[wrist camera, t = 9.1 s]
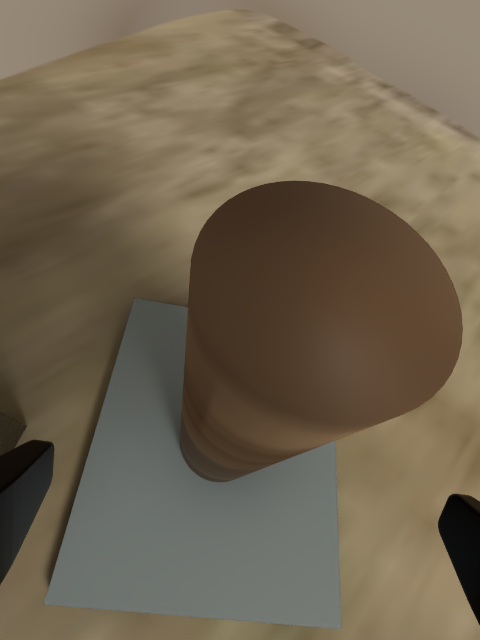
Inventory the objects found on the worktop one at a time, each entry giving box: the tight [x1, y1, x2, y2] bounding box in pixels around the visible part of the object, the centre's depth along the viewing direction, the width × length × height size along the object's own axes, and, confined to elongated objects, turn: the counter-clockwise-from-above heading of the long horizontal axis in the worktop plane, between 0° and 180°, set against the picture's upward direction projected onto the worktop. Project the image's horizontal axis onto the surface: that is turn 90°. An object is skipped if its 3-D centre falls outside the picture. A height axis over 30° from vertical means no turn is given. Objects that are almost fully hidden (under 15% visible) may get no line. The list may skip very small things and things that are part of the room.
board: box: [44, 298, 341, 629], centre depth 18 cm, size 14×12×1 cm
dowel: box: [180, 181, 463, 482], centre depth 11 cm, size 4×4×14 cm
